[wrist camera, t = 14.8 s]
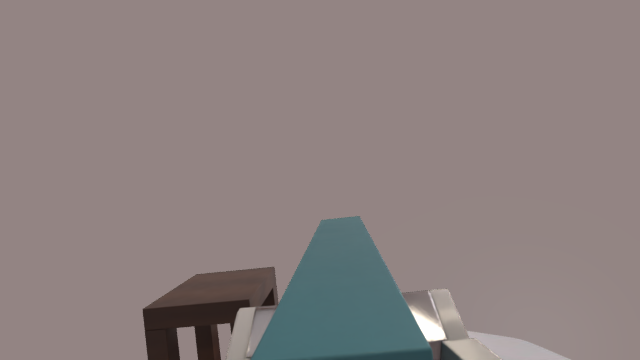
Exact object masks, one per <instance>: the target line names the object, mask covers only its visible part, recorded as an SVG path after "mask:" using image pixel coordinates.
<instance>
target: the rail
mask: <svg viewBox="0 0 640 360" xmlns="http://www.w3.org/2000/svg"><path fill="white" fill-rule="evenodd" d="M250 360H433V352H432V348H431V347H430V345H429V343H428V341H427V339H426V337H425V336H424V334H423V332H422V330H421V328H420V326H419V325H418V323H417V321H416V319H415V317H414V315H413V314H412V312H411V310H410V308H409V306H408V304H407V303H406V301H405V299H404V297H403V295H402V293H401V292H400V290H399V288H398V286H397V284H396V283H395V281H394V279H393V277H392V275H391V273H390V272H389V270H388V268H387V266H386V264H385V262H384V261H383V259H382V257H381V255H380V253H379V251H378V249H377V248H376V246H375V244H374V242H373V240H372V238H371V237H370V235H369V233H368V231H367V229H366V228H365V226H364V224H363V222H362V220H361V218H360V217H359V216H355V217H347V218H337V219H327V220H322V221H321V222H320V224H319V226H318V228H317V230H316V232H315V234H314V236H313V238H312V240H311V242H310V244H309V246H308V248H307V250H306V252H305V254H304V256H303V258H302V260H301V261H300V264H299V265H298V267H297V269H296V271H295V273H294V275H293V277H292V279H291V281H290V283H289V285H288V287H287V289H286V291H285V293H284V295H283V297H282V299H281V301H280V303H279V304H278V306H277V308H276V310H275V312H274V314H273V316H272V318H271V320H270V322H269V324H268V326H267V328H266V330H265V332H264V334H263V336H262V338H261V340H260V342H259V343H258V345H257V347H256V349H255V351H254V353H253V355H252V357H251V359H250Z"/></svg>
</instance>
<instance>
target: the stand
mask: <svg viewBox="0 0 640 360" xmlns="http://www.w3.org/2000/svg"><path fill="white" fill-rule="evenodd" d="M273 305H278V295H277V286H276V277H275V268H274V267H267V268H257V269H248V270H236V271H226V272H217V273H206V274H197V275H195V276H193V277H192V278H190V279H188V280H187V281H185V282H184V283H182V284H181V285H179V286H178V287H176V288H175V289H173V290H172V291H170V292H169V293H167V294H165V295H164V296H162V297H161V298H159V299H158V300H156V301H155V302H153V303H152V304H150V305H149V306H147V307H145V308H144V309H143V317H144V327H145V330H146V331H145V336H146V345H147V354H148V360H180V356H179V347H178V338H177V328H179V327H191V326H195V334H196V344H197V354H198V360H221V357H220V349H219V338H218V330H217V324H225V323H230V326H231V335H232V331H233V327H234V323H235V319H236V315H237V312H238V311H239V309H240V308H248V307H259V306H273Z"/></svg>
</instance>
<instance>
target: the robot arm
mask: <svg viewBox="0 0 640 360" xmlns="http://www.w3.org/2000/svg"><path fill="white" fill-rule="evenodd" d="M402 295H403V297H404V299H405V301H406V303H407V304H408V306H409V308H410V310H411V312H412V314H413V315H414V317H415V319H416V321H417V323H418V325H419V326H420V328H421V330H422V332H423V334H424V336H425V337H426V339H427V341H428V343H429V345H430V347H431V348H432V352H433V360H502V359H501V358H500V357H498V356H497V355H496V354H495V353H493V352H492V351H491V350H490V349H488V348H487V347H486V346H484V345H483V344H482V343H481V342H479V341H478V340H477V339H476V338H469V336H468V334H467V331H466V329H465V327H464V325H463V322H462V320H461V318H460V315H459V313H458V311H457V308H456V306H455V304H454V301H453V299H452V297H451V294H450V292H449V291H448V290H447V289H437V290H429V291H428V290H425V291H416V292H406V293H402ZM277 306H278V305H273V306H259V307H248V308H240V309H239V311H238V312H237V315H236V319H235V323H234V327H233V331H232V336H231V340H230V344H229V348H228V352H227V356H226V360H250V359H251V357H252V355H253V353H254V351H255V349H256V347H257V345H258V343H259V342H260V340H261V338H262V336H263V334H264V332H265V330H266V328H267V326H268V324H269V322H270V320H271V318H272V316H273V314H274V312H275V310H276V308H277Z"/></svg>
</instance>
